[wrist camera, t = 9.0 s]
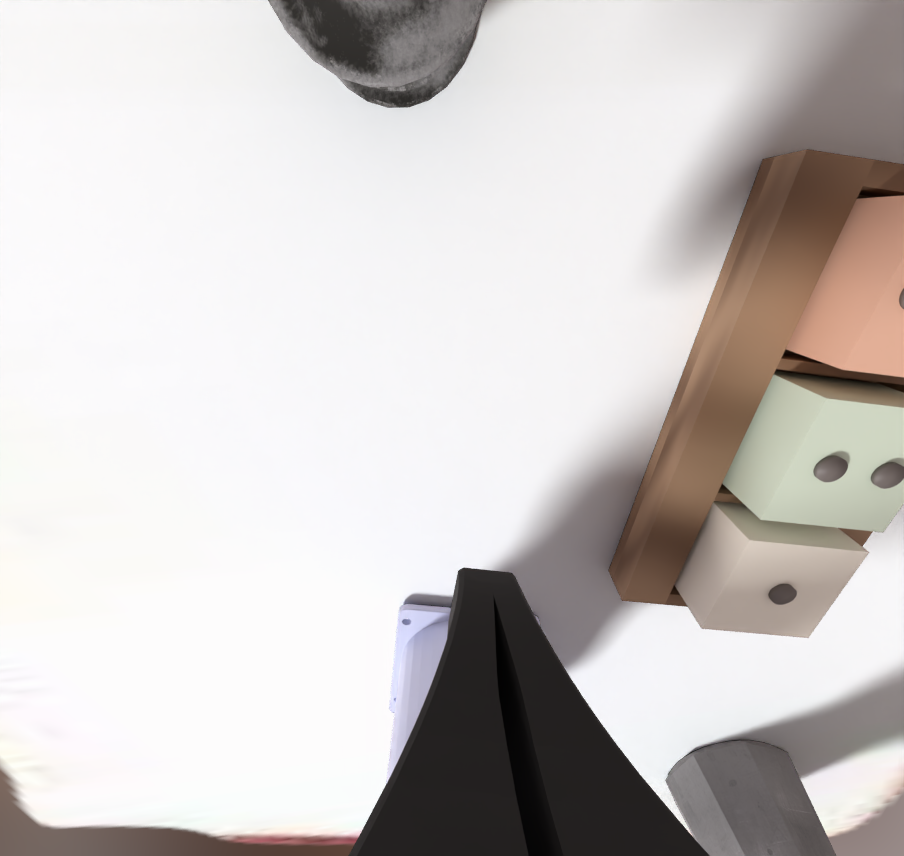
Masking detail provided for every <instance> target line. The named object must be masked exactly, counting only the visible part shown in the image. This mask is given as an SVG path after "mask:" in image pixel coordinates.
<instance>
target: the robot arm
mask: <svg viewBox="0 0 904 856" xmlns="http://www.w3.org/2000/svg"><path fill="white" fill-rule="evenodd" d="M389 709H390V711H391V712H393V713H394V721H393V730H392V738H391V747H390V755H389V764H388V772H387V781H386V786H385V788H384V790H383V792H382V794H381V796H380V798H379V799H378V801H377V803H376V805H375V807H374V809H373V811H372V813H371V815H370V817H369V819H368V821H367V822H366V824H365V826H364V828H363V830H362V832H361V834H360V836H359V838H358V839H357V841H356V843H355V845H354V847H353V849H352V851H351V852H350V854H349V856H710V855H709V854H708V853H707V852H706V851H705V850H704V849H703V847H702V846H701V845H700V844H699V843H698V842H697V841H696V840H695V839H694V838H693V837H692V835H691V834H690V833H689V832H688V831H687V830H686V829H685V827H684V826H683V825H682V824H681V823H680V821H679V820H678V819H677V818H676V817H675V816H674V814H673V813H672V812H671V811H670V810H669V808H668V807H667V806H666V805H665V804H664V803H663V801H662V800H661V799H660V798H659V797H658V795H657V794H656V793H655V792H654V791H653V790H652V788H651V787H650V786H649V785H648V784H647V782H646V781H645V780H644V779H643V778H642V776H641V775H640V774H639V773H638V772H637V770H636V769H635V768H634V766H633V765H632V764H631V762H630V761H629V760H628V759H627V757H626V756H625V755H624V753H623V752H622V751H621V750H620V748H619V747H618V746H617V744H616V743H615V742H614V740H613V739H612V738H611V736H610V735H609V734H608V732H607V731H606V729H605V728H604V727H603V725H602V724H601V723H600V721H599V720H598V718H597V717H596V716H595V714H594V713H593V711H592V710H591V708H590V707H589V705H588V704H587V702H586V701H585V699H584V698H583V697H582V695H581V693H580V692H579V690H578V689H577V687H576V686H575V684H574V683H573V681H572V680H571V678H570V676H569V675H568V673H567V672H566V670H565V668H564V667H563V665H562V664H561V662H560V660H559V659H558V657H557V655H556V653H555V652H554V650H553V648H552V647H551V645H550V643H549V641H548V640H547V638H546V636H545V634H544V633H543V631H542V629H541V627H540V621H539V618H538V617H537V616H534V614H533V612H532V610H531V608H530V606H529V605H528V603H527V601H526V599H525V597H524V595H523V592H522V590H521V588H520V586H519V584H518V582H517V580H516V578H515V576H514V575H513V574H512V573H509V572H499V571H490V570H480V569H471V568H462V569H460V570H459V571H458V575H457V580H456V585H455V590H454V595H453V600H452V606H451V608H449V607H437V606H426V605H415V604H404V605H402V606H401V607H400V608H399V614H398V624H397V634H396V644H395V654H394V665H393V675H392V685H391V696H390V706H389Z"/></svg>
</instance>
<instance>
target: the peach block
mask: <svg viewBox="0 0 904 856" xmlns="http://www.w3.org/2000/svg"><path fill="white" fill-rule="evenodd" d="M786 350H789V351H792V352H795V353H798V354H800V355H803V356H806V357H809V358H811V359H814V360H817V361H820V362H822V363H825V364H828V365H831V366H833V367H836V368H839V369H842V370H849V371H857V372H865V373H873V374H881V375H889V376H897V377H904V195H903V196H889V197H875V198H861V199H856V201H855V203H854V206H853V208H852V210H851V212H850V214H849V216H848V218H847V220H846V222H845V225H844V227H843V229H842V231H841V233H840V235H839V237H838V239H837V241H836V244H835V246H834V248H833V250H832V252H831V254H830V256H829V258H828V261H827V263H826V265H825V267H824V269H823V271H822V273H821V275H820V277H819V280H818V282H817V284H816V286H815V288H814V290H813V292H812V294H811V296H810V299H809V301H808V303H807V305H806V307H805V309H804V311H803V313H802V315H801V318H800V320H799V322H798V324H797V326H796V328H795V330H794V332H793V335H792V337H791V339H790V341H789V343H788V345H787V347H786Z"/></svg>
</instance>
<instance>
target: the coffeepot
mask: <svg viewBox="0 0 904 856" xmlns="http://www.w3.org/2000/svg"><path fill="white" fill-rule="evenodd" d="M665 781H666V783H667V785H668V787H669V790H670V792H671V794H672V796H673V798H674V801H675V803H676V805H677V807H678V809H679V810H680V812H681V814H682V816H683V818H684V820H685V822H686V824H687V826H688V827H689V829H690V831H691V833H692V835H693V837H694V839H695V840H696V841H697V842H698V843H699V844H700V845H701V846H702V847H703V849H704V850H705V851H706V852H707V853H708V854H709V855H710V856H836V854H835V852H834V850H833V848H832V845H831V843H830V841H829V839H828V837H827V835H826V833H825V831H824V829H823V826H822V824H821V822H820V820H819V818H818V816H817V814H816V812H815V810H814V807H813V805H812V803H811V801H810V799H809V797H808V795H807V793H806V791H805V788H804V786H803V784H802V782H801V780H800V778H799V776H798V774H797V772H796V769H795V767H794V765H793V763H792V761H791V759H790V757H789V755H788V753H787V752H785V751H783V750H781V749H779V748H777V747H775V746H773V745H770V744H767V743H764V742H758V741H748V740H738V741H727V742H722V743H716V744H713V745H710V746H706V747H703V748H701V749H699V750H696V751H694V752H692V753H690V754H688V755H687V756H685V757H684V758H682V759H681V760H680V761H678V762H677V763H676V764H675V765H674V767H673V768H672V769H671V771H670V773H669V775H668V777H667V778H666V780H665Z"/></svg>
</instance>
